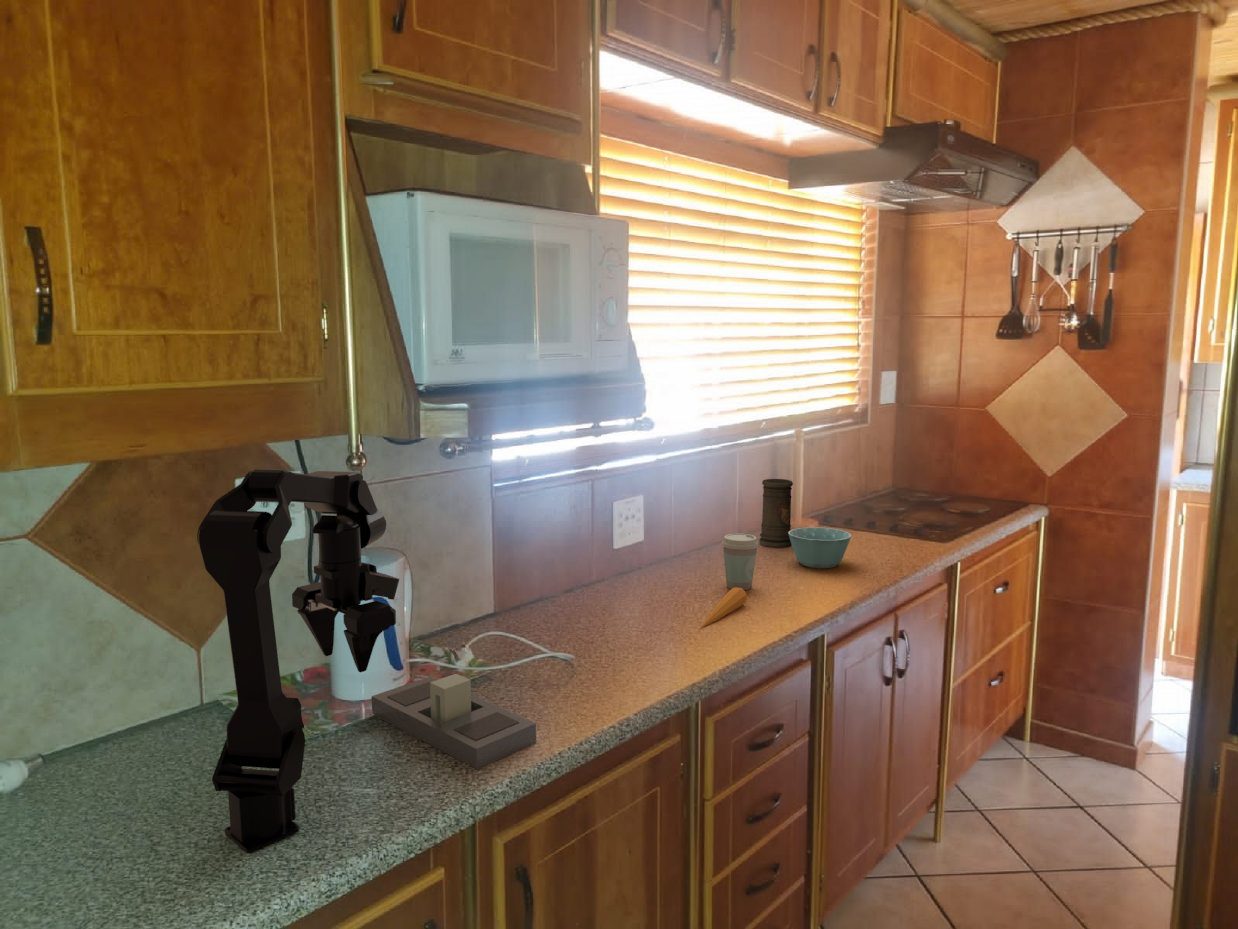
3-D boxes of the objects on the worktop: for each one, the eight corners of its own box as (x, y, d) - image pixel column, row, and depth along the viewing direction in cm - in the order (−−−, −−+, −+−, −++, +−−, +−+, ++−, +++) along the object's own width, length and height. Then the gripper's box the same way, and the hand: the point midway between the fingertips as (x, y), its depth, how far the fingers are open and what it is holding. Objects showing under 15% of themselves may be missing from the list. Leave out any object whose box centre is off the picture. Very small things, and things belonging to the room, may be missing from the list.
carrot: (735, 606, 200) (727, 587, 200) (752, 601, 197) (745, 582, 197) (694, 641, 184) (686, 620, 183) (713, 636, 181) (704, 616, 181)
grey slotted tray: (476, 769, 124) (476, 748, 124) (372, 714, 142) (371, 695, 141) (536, 742, 132) (535, 722, 132) (430, 693, 150) (429, 676, 149)
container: (756, 546, 251) (758, 482, 248) (762, 539, 259) (764, 477, 256) (789, 548, 248) (791, 484, 245) (793, 541, 256) (795, 479, 254)
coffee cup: (748, 594, 206) (750, 543, 204) (714, 588, 210) (715, 538, 208) (763, 585, 213) (764, 535, 211) (730, 579, 217) (731, 531, 216)
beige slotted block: (445, 737, 134) (444, 689, 133) (431, 729, 136) (430, 682, 135) (471, 726, 137) (470, 679, 136) (457, 719, 140) (455, 673, 139)
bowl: (778, 557, 238) (779, 527, 237) (834, 555, 241) (835, 525, 240) (800, 573, 223) (802, 541, 222) (860, 571, 226) (861, 539, 225)
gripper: (426, 559, 128) (429, 664, 130) (355, 538, 140) (359, 634, 143) (356, 575, 120) (361, 687, 122) (287, 551, 132) (293, 653, 135)
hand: (345, 663), depth 131 cm, fingers open, 9 cm apart
